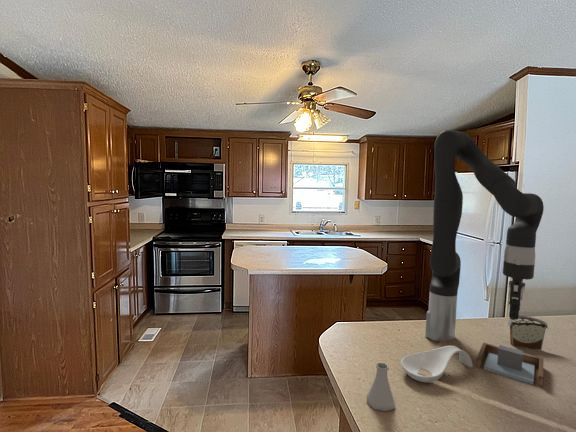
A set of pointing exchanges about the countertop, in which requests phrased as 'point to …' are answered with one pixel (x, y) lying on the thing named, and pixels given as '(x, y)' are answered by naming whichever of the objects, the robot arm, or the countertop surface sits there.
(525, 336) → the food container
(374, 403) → the flask
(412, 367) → the spoon rest
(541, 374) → the open-fronted box
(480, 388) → the countertop surface
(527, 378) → the cover plate
